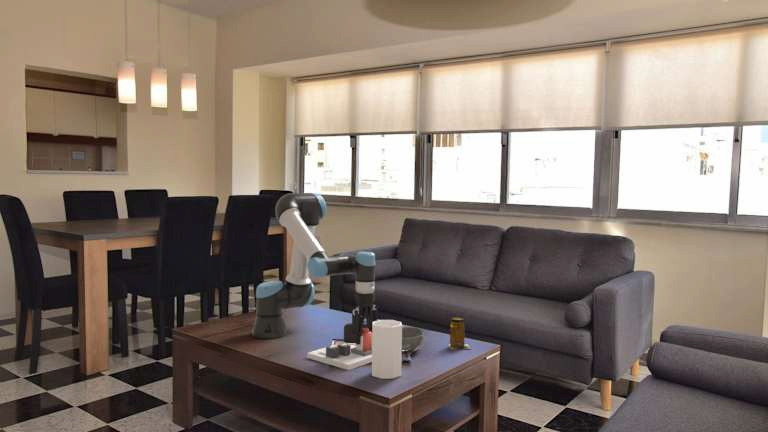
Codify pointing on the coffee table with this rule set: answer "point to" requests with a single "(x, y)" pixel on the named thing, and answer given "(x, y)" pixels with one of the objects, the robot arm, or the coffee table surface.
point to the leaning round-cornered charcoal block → (348, 333)
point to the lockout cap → (366, 339)
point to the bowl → (411, 338)
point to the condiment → (457, 334)
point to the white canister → (386, 349)
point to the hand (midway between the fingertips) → (364, 350)
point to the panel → (343, 357)
